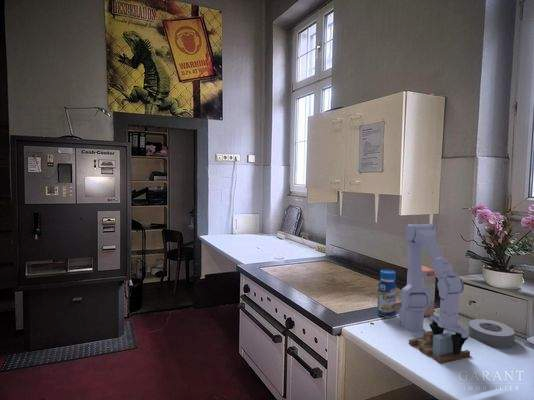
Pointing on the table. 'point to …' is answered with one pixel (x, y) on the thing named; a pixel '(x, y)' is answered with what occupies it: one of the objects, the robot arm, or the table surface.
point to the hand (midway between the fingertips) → (447, 349)
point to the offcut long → (423, 342)
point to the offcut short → (428, 336)
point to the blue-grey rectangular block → (442, 344)
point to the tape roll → (491, 333)
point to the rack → (443, 358)
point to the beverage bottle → (387, 294)
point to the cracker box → (428, 288)
